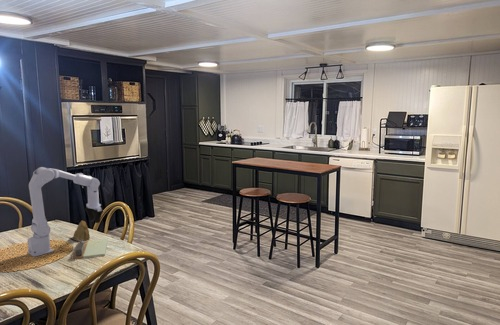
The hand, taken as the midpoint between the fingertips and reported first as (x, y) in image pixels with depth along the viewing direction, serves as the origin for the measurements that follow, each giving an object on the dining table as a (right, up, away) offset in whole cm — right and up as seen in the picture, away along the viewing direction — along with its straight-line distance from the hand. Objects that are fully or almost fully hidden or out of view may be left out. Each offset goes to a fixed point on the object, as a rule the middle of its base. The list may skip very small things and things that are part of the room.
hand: (94, 221), depth 197 cm
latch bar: (+3, -12, -22) cm, 25 cm away
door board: (+5, -12, -15) cm, 20 cm away
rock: (-8, -10, 0) cm, 13 cm away
